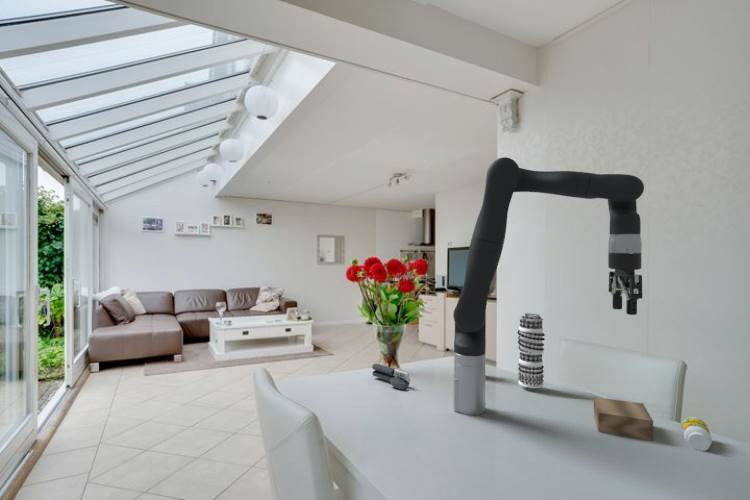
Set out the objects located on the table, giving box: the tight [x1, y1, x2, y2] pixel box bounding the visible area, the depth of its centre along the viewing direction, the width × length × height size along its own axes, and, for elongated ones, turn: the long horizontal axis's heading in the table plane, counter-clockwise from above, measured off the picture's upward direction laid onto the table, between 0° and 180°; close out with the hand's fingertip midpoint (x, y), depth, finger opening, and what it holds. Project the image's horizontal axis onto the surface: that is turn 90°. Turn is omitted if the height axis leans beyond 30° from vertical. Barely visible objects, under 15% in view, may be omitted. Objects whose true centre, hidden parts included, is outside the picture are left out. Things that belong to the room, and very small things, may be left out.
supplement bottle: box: [681, 416, 713, 452], centre depth 98 cm, size 5×5×10 cm
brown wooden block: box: [593, 396, 654, 441], centre depth 107 cm, size 12×12×6 cm
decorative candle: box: [516, 312, 546, 389], centre depth 142 cm, size 9×9×25 cm
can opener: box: [371, 363, 411, 391], centre depth 145 cm, size 19×6×5 cm, turn 39°
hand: (624, 311), depth 106 cm, fingers open, 8 cm apart
